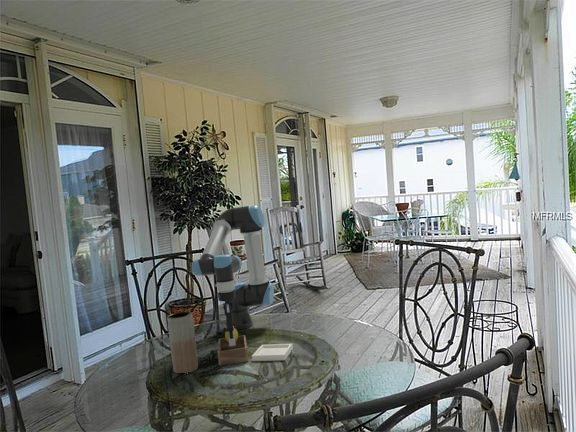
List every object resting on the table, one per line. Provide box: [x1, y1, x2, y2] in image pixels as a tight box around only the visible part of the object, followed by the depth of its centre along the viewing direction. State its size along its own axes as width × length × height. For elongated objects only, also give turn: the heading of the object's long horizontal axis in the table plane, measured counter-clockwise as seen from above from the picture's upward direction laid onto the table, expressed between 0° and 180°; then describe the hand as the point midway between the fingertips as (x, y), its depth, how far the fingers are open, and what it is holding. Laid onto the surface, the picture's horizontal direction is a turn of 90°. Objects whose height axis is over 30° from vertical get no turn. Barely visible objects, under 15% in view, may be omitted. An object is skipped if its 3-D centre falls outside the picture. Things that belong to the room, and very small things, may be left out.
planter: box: [166, 311, 199, 374], centre depth 179 cm, size 10×10×23 cm
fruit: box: [224, 328, 239, 342], centre depth 191 cm, size 6×6×8 cm
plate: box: [251, 343, 294, 362], centre depth 186 cm, size 14×14×2 cm
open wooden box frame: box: [217, 334, 249, 366], centre depth 190 cm, size 20×12×6 cm, turn 8°
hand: (232, 343), depth 191 cm, fingers closed on fruit, 6 cm apart
